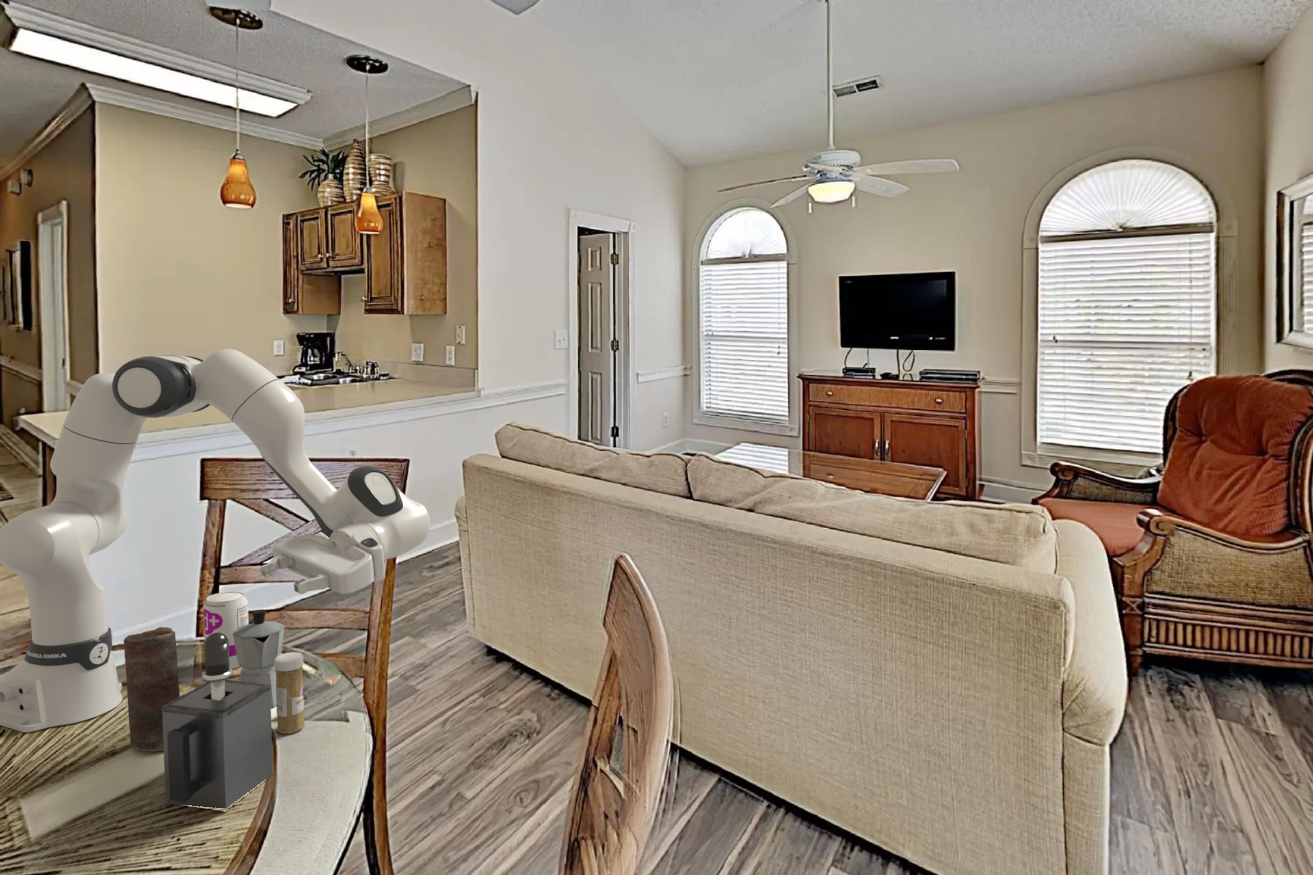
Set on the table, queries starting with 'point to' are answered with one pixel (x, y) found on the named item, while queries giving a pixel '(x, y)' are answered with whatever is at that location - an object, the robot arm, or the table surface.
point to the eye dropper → (217, 664)
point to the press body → (217, 744)
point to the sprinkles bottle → (289, 692)
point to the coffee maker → (259, 651)
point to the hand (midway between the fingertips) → (279, 580)
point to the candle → (150, 684)
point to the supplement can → (226, 618)
